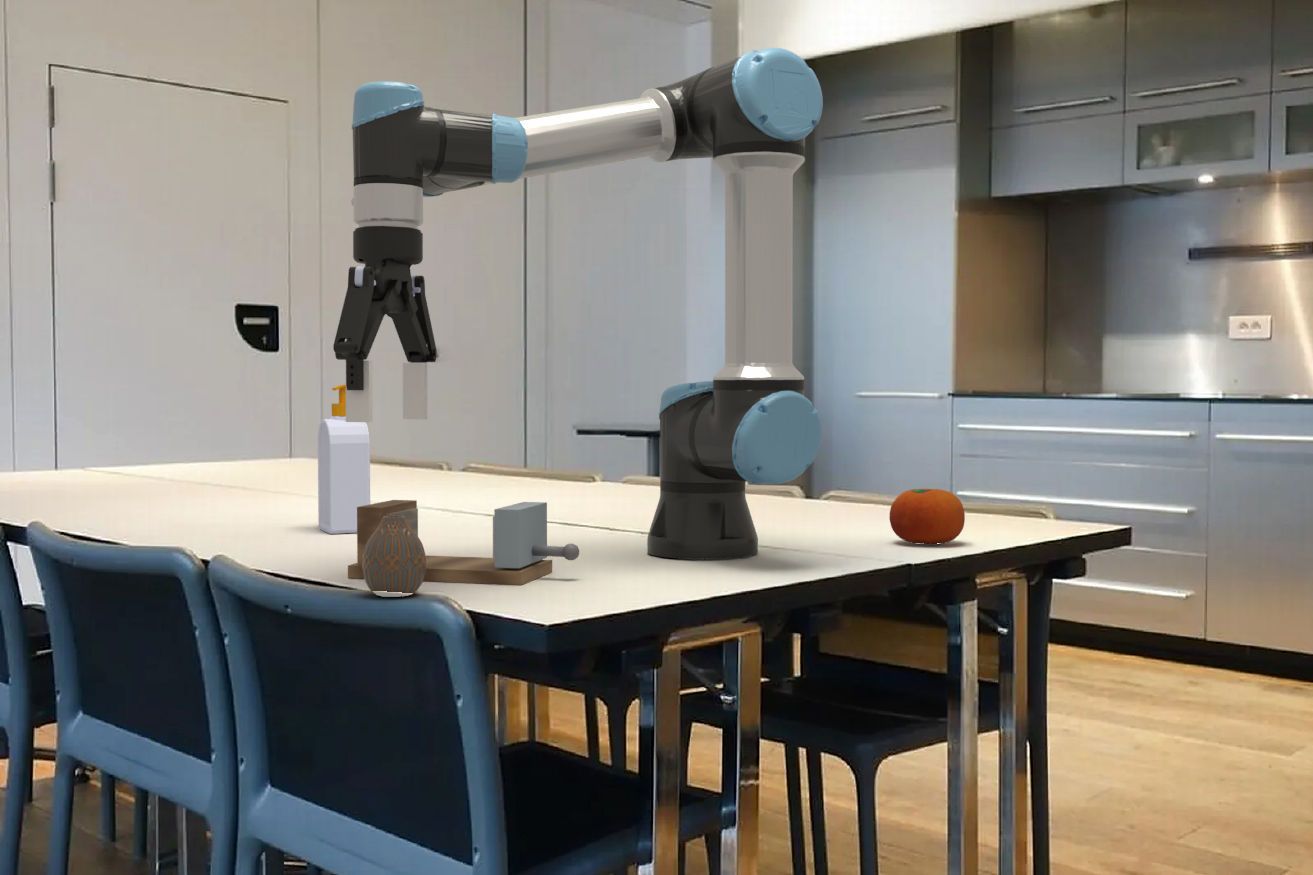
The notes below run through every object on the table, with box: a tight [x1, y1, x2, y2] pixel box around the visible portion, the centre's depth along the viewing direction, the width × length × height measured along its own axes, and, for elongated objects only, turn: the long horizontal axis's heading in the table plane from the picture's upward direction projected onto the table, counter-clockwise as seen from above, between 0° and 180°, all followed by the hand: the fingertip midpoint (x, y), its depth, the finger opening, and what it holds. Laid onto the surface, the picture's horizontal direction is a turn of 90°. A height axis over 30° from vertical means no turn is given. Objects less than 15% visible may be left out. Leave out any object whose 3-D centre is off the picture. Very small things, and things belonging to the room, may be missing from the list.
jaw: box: [492, 501, 580, 568], centre depth 163 cm, size 9×10×7 cm
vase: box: [362, 515, 427, 594], centre depth 151 cm, size 7×7×9 cm
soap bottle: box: [317, 384, 371, 535], centre depth 214 cm, size 9×7×23 cm
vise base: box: [347, 499, 553, 586], centre depth 166 cm, size 22×11×8 cm, turn 76°
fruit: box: [889, 488, 966, 545], centre depth 198 cm, size 11×10×8 cm
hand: (388, 421), depth 151 cm, fingers open, 13 cm apart
